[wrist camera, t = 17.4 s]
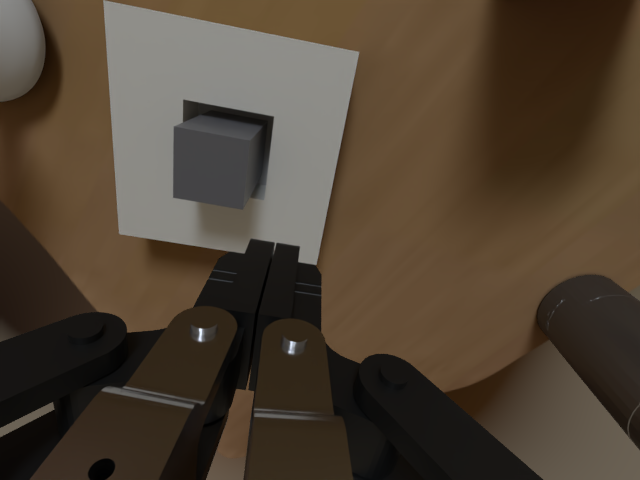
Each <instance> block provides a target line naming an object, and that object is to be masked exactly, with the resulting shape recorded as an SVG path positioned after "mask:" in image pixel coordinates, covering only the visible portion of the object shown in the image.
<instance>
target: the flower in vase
mask: <svg viewBox="0 0 640 480" xmlns="http://www.w3.org/2000/svg"><path fill="white" fill-rule="evenodd" d="M45 49H46V46H45V36H44V31H43V27H42V24H41V21H40V18H39V15H38V13H37V11H36V8H35V6H34V4H33V2H32V1H31V0H0V102H4V101H9V100H13V99H16V98H19V97H21V96H22V95H24V94H26V93H27V92H28V91H29V90H30V89H32V87H33V86H34V85H35V84H36V82H37V81H38V79H39V77H40V75H41V72H42V69H43V66H44V60H45Z"/></svg>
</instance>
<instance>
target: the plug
mask: <svg viewBox="0 0 640 480" xmlns="http://www.w3.org/2000/svg"><path fill="white" fill-rule="evenodd" d="M267 126H268V121H266V120H260V119H255V118H250V117H245V116H239V115H234V114H229V113H224V112H218V111H213V110H211V111H208V112H206V113H204V114H201V115H199V116H197V117H194V118H192V119H190V120H187V121H185V122H183V123H180V124H178V125H176V126H174V142H173V198H177V199H183V200H189V201H195V202H201V203H206V204H212V205H218V206H224V207H230V208H236V209H241V210H243V209H244V207H245V205H246V203H247V202H248V200H249V198H250V196H251V194H252V192H253V190H254V189H255V187H256V185H257V183H258V181H259V179H260V178H261V176H262V169H263V160H264V152H265V143H266V134H267Z"/></svg>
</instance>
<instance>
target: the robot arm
mask: <svg viewBox="0 0 640 480" xmlns="http://www.w3.org/2000/svg"><path fill="white" fill-rule="evenodd" d="M274 246H275V242H270V241H264V240H258V239H252V238H251V239H250V241H249V244H248V246H247V249H246V251H245V254H244V253H238V252H231V251H230V252H229V253H227V254H225V255H224V256H222V257H221V258H219V259H218V261H217V263H216V265H215V267H214V269H213V271H212V273H211V274H210V276H209V279H208V280H207V282H206V284H205V286H204V288H203V290H202V291H201V293H200V295H199V297H198V299H197V301H196V303H195V305H194V307H193V308H190V309H187V310H184V311H182V312H181V313H179V314H178V315H176V316H175V317H174V318H173V320H172V321H171V322H170V324H169V325H168V327H167V328H165V329H160V330H154V331H143V332H131V333H127V327H126V324H125V323H124V321H123V320H122V319H121V318H119V317H117V316H115V315H112V314H109V313H102V312H91V313H83V314H79V315H75V316H72V317H69V318H66V319H63V320H61V321H58V322H55V323H52V324H49V325H47V326H44V327H41V328H38V329H36V330H33V331H30V332H27V333H24V334H21V335H19V336H16V337H13V338H10V339H8V340H5V341H2V342H0V428H1V427H3V426H5V425H7V424H9V423H11V422H13V421H15V420H17V419H19V418H21V417H23V416H25V415H27V414H29V413H31V412H33V411H35V410H37V409H39V408H41V407H43V406H45V405H47V404H49V403H51V402H53V404H54V409H55V410H53V411H51V412H49V413H47V414H45V415H43V416H41V417H39V418H37V419H35V420H33V421H31V422H29V423H27V424H25V425H24V426H21V427H20V428H18V429H16V430H14V431H12V432H10V433H8V434H6V435H4V436H2V437H0V480H206V478H207V475H208V472H209V470H210V467H211V464H212V461H213V458H214V456H215V453H216V450H217V447H218V444H219V442H220V439H221V436H222V433H223V430H224V428H225V425H226V422H227V419H228V414H229V408H230V407H231V404H232V402H233V398H234V394H235V390H236V389H242V390H246V386H247V382H248V378H249V373H250V369H251V374H250V382H249V389H248V390H251V391H254V399H253V406H252V413H251V420H250V428H249V436H248V445H247V454H246V463H245V471H244V480H543V479H542V478H541V477H539V476H538V475H537V474H536V473H535V472H534V471H532V470H531V469H530V468H529V467H528V466H527V465H526V464H525V463H523V462H522V461H521V460H520V459H519V458H518V457H516V456H515V455H514V454H513V453H512V452H511V451H510V450H508V449H507V448H506V447H505V446H504V445H503V444H502V443H500V442H499V441H498V440H497V439H496V438H495V437H494V436H493V435H491V434H490V433H489V432H488V431H487V430H486V429H485V428H483V427H482V426H481V425H480V424H479V423H478V422H476V421H475V420H474V419H473V418H472V417H471V416H470V415H468V414H467V413H466V412H465V411H464V410H463V409H462V408H460V407H459V406H458V405H457V404H456V403H455V402H454V401H452V400H451V399H450V398H449V397H448V396H447V395H446V394H444V393H443V392H442V391H441V390H440V389H439V388H438V387H436V386H435V385H434V384H433V383H432V382H431V381H430V380H428V379H427V378H426V377H425V376H424V375H423V374H422V373H420V372H419V371H418V370H417V369H416V368H415V367H413V366H412V365H411V364H410V363H408V362H406V361H405V360H403V359H401V358H399V357H396V356H393V355H388V354H375V355H371V356H369V357H367V358H365V359H364V360H363V361H362V363H361V364H360V363H357V362H355V361H352V360H350V359H347V358H345V357H343V356H341V355H339V354H337V353H336V352H335V351H333V350H332V349H331V348H330V347H329V346H328V345H327V344H326V342H325V338H324V336H323V334H322V333H321V273H320V272H319V270H318V269H317V267H316V266H315V265H314V264H307V263H301V262H298V259H299V251H300V246H295V245H289V244H283V243H276V247H275V251H274ZM273 254H274V255H273ZM537 319H538V324H539V326H540V328H541V330H542V331H543V332H544V333H545V335H546V336H547V337H548V338H549V339H550V341H551V342H552V343H553V344H554V346H555V347H556V348H557V349H558V351H559V352H560V353H561V354H562V356H563V357H564V358H565V359H566V361H567V362H568V363H569V364H570V365H571V367H572V368H573V369H574V371H575V372H576V373H577V374H578V375H579V377H580V378H581V379H582V380H583V382H584V383H585V384H586V385H587V386H588V388H589V389H590V390H591V391H592V393H593V394H594V395H595V396H596V397H597V399H598V400H599V401H600V402H601V404H602V405H603V406H604V407H605V408H606V410H607V411H608V412H609V413H610V414H611V416H612V417H613V418H614V420H615V421H616V422H617V423H618V424H619V426H620V427H621V428H622V429H623V430H624V432H625V433H626V434H627V435H628V437H629V438H630V439H631V440H632V442H633V443H634V444H635V445H636V446H637V448H638V449H639V450H640V301H639V300H638V299H636V298H635V297H634V296H632V295H631V294H630V293H628V292H627V291H625V290H624V289H623V288H621V287H620V286H619V285H617V284H616V283H615V282H613V281H612V280H611V279H609V278H606V277H604V276H599V275H583V276H578V277H575V278H572V279H569V280H567V281H565V282H563V283H561V284H559V285H558V286H557V287H555V288H554V289H553V290H551V291H550V292H549V293H548V294H547V295H546V297H545V298H544V300H543V301H542V302H541V305H540V307H539V309H538V315H537ZM251 365H252V366H251Z"/></svg>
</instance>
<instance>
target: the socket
mask: <svg viewBox="0 0 640 480" xmlns="http://www.w3.org/2000/svg"><path fill="white" fill-rule="evenodd" d="M103 1H104V0H103ZM104 16H105V31H106V46H107V61H108V76H109V91H110V106H111V120H112V135H113V150H114V165H115V180H116V195H117V210H118V224H119V234H123V235H129V236H135V237H142V238H148V239H154V240H160V241H167V242H173V243H179V244H186V245H192V246H198V247H204V248H211V249H217V250H223V251H231V252H238V253H244V254H245V251H246V249H247V246H248V244H249V241H250V239H251V238H252V239H258V240H264V241H270V242H275V246H274V251H275V247H276V243H283V244H289V245H295V246H300V251H299V259H298V262H301V263H307V264H314V265H317V260H318V255H319V250H320V245H321V240H322V235H323V230H324V225H325V220H326V215H327V210H328V205H329V200H330V195H331V190H332V185H333V180H334V175H335V170H336V165H337V160H338V155H339V150H340V145H341V140H342V135H343V130H344V125H345V120H346V115H347V110H348V105H349V100H350V96H351V91H352V86H353V81H354V76H355V71H356V66H357V61H358V56H359V52H356V51H351V50H346V49H341V48H336V47H332V46H327V45H322V44H317V43H312V42H307V41H302V40H297V39H292V38H287V37H282V36H277V35H272V34H267V33H262V32H257V31H253V30H248V29H243V28H238V27H233V26H228V25H223V24H218V23H213V22H208V21H203V20H198V19H193V18H188V17H183V16H178V15H173V14H169V13H164V12H159V11H154V10H149V9H144V8H139V7H134V6H129V5H124V4H119V3H114V2H109V1H104ZM211 110H213V111H218V112H224V113H229V114H234V115H239V116H245V117H250V118H255V119H260V120H266V121H268V126H267V134H266V143H265V152H264V160H263V169H262V176H261V178H260V179H259V181H258V183H257V185H256V187H255V189H254V190H253V192H252V194H251V196H250V198H249V200H248V202H247V203H246V205H245V207H244V209H243V210H241V209H236V208H230V207H224V206H218V205H212V204H206V203H201V202H195V201H189V200H183V199H177V198H173V142H174V126H176V125H178V124H180V123H183V122H185V121H187V120H190V119H192V118H194V117H197V116H199V115H201V114H204V113H206V112H208V111H211ZM273 255H274V254H273Z"/></svg>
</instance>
